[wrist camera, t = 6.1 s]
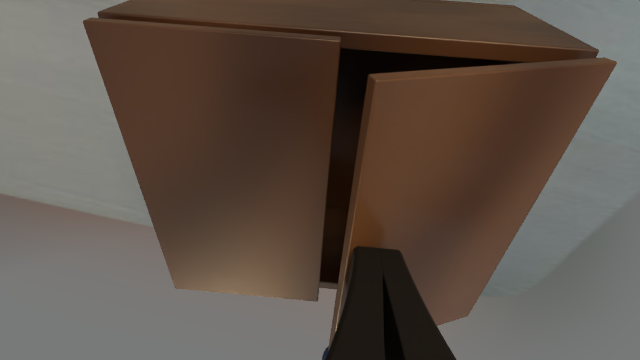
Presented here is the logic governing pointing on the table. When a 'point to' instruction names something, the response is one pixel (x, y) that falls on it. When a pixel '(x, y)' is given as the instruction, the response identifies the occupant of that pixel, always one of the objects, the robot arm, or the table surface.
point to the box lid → (459, 168)
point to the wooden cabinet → (276, 118)
